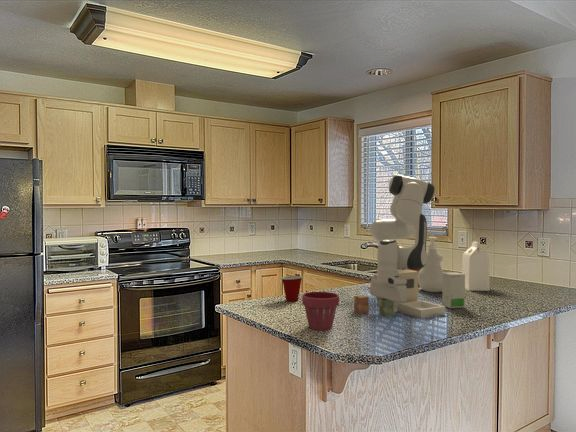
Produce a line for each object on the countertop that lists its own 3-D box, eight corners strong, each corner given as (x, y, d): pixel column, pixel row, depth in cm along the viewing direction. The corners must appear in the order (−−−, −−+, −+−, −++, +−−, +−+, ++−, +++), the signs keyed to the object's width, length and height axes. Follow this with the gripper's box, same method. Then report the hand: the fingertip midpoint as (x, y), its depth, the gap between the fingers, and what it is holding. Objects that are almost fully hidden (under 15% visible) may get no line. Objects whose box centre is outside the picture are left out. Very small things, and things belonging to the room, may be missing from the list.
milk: (489, 290, 252) (490, 243, 251) (468, 290, 253) (469, 243, 252) (481, 286, 264) (481, 241, 263) (460, 286, 265) (461, 241, 264)
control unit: (377, 306, 215) (377, 271, 215) (406, 302, 224) (406, 268, 223) (391, 310, 207) (391, 274, 206) (421, 306, 215) (421, 271, 215)
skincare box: (449, 308, 211) (450, 274, 210) (441, 305, 217) (441, 272, 217) (465, 307, 213) (465, 273, 213) (456, 304, 220) (457, 271, 219)
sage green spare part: (379, 314, 200) (379, 298, 200) (387, 313, 202) (387, 297, 202) (386, 317, 196) (386, 300, 196) (394, 315, 198) (394, 299, 198)
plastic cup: (290, 297, 236) (290, 273, 235) (307, 300, 229) (307, 276, 228) (276, 300, 227) (276, 276, 227) (293, 304, 220) (293, 279, 220)
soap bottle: (451, 292, 248) (452, 237, 247) (438, 294, 241) (439, 238, 240) (425, 287, 261) (425, 235, 260) (412, 289, 254) (412, 236, 253)
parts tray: (398, 311, 206) (398, 303, 206) (421, 307, 212) (421, 300, 212) (421, 318, 194) (421, 310, 193) (445, 314, 200) (445, 306, 200)
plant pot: (336, 322, 188) (336, 290, 187) (341, 332, 174) (341, 298, 173) (301, 322, 187) (301, 291, 187) (303, 332, 173) (303, 298, 173)
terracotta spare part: (354, 311, 206) (354, 295, 206) (362, 310, 208) (362, 294, 208) (360, 313, 202) (360, 297, 202) (368, 312, 204) (368, 296, 204)
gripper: (366, 274, 206) (366, 305, 206) (398, 281, 188) (397, 315, 188) (377, 273, 209) (377, 303, 209) (409, 280, 191) (409, 313, 191)
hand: (387, 309), depth 199 cm, fingers open, 8 cm apart
